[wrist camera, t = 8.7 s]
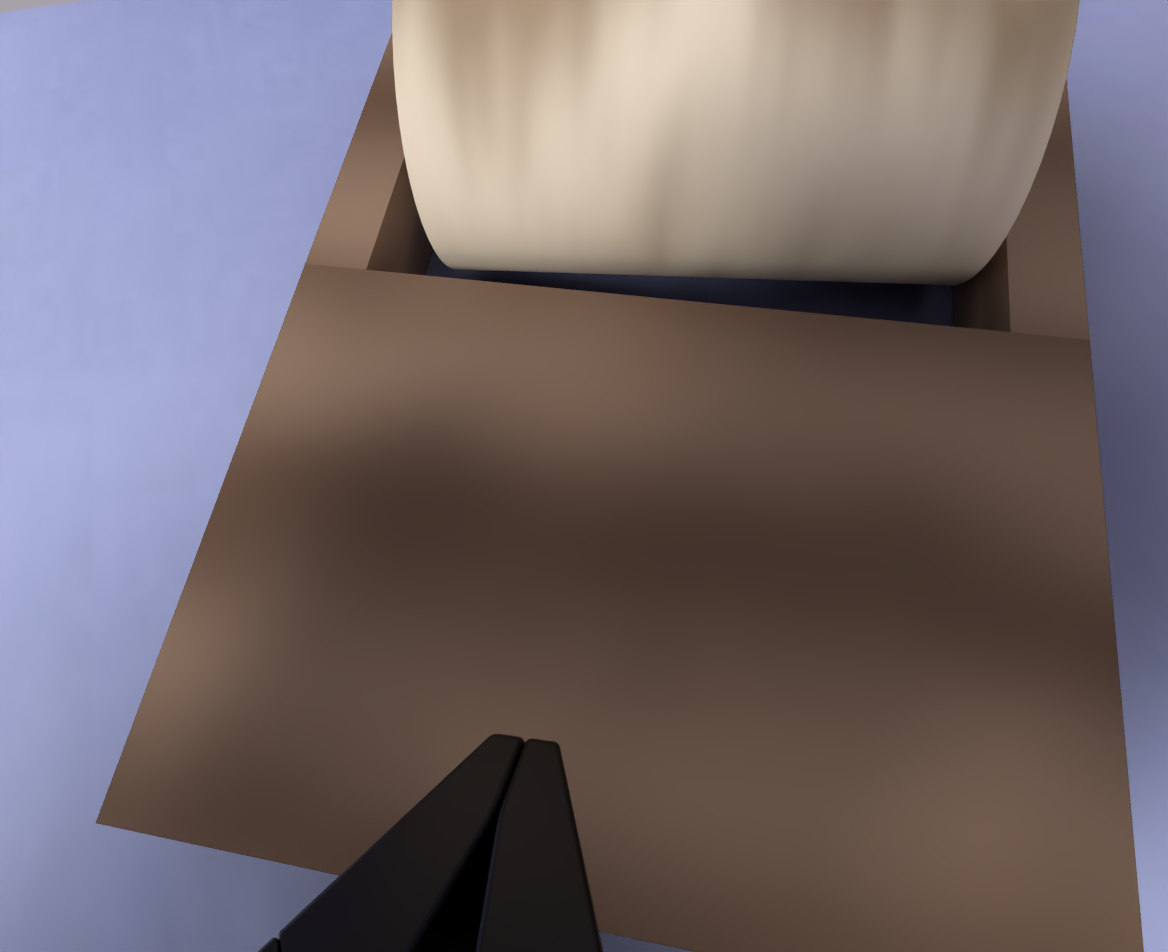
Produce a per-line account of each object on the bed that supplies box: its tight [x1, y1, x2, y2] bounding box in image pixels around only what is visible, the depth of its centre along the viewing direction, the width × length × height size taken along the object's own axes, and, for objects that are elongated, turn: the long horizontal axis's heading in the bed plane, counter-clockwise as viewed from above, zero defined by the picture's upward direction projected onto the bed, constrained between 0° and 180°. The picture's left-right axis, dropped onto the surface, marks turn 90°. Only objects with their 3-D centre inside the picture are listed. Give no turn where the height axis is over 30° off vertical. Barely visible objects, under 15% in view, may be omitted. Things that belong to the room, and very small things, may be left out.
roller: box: [392, 0, 1080, 285], centre depth 17 cm, size 8×12×8 cm, turn 85°
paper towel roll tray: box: [96, 34, 1144, 952], centre depth 17 cm, size 23×17×3 cm
